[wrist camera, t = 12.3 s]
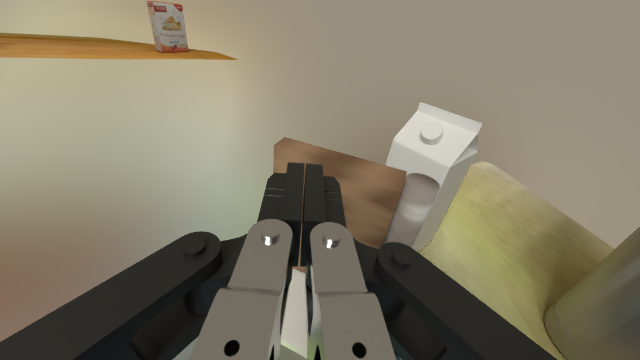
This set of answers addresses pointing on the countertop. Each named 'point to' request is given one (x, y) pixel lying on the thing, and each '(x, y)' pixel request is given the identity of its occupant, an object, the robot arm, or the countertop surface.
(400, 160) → the milk carton
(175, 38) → the cracker box
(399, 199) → the brown wooden slab
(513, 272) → the countertop surface
